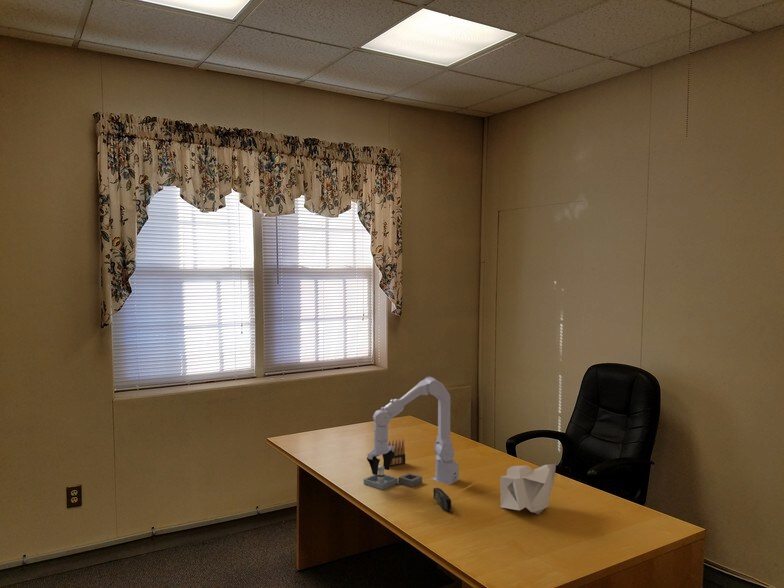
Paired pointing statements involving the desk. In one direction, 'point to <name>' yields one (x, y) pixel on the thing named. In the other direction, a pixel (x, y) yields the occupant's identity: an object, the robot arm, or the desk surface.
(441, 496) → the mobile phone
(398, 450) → the ammunition clip
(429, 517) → the desk surface
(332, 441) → the desk surface
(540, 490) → the folded paper
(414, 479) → the grey square holder
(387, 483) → the parts tray
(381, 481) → the fuse
